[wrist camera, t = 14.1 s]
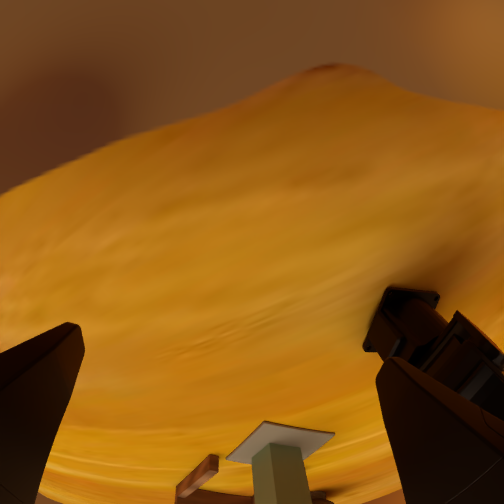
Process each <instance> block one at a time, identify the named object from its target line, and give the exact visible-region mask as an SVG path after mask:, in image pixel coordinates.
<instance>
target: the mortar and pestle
mask: <svg viewBox="0 0 504 504" xmlns="http://www.w3.org/2000/svg"><path fill="white" fill-rule="evenodd" d="M310 496H311V500H312V504H334V503H333V502H331V501H329V500H326V493H325V492H323V491H315V492H310Z"/></svg>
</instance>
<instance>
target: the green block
mask: <svg viewBox="0 0 504 504" xmlns="http://www.w3.org/2000/svg"><path fill="white" fill-rule="evenodd" d="M251 460H252V473H253V485H254V497H255V504H312V500H311V496H310V491H309V486H308V481H307V476H306V472H305V467H304V462H303V457H302V453H301V448H300V447H294V446H287V445H280V444H274V443H268V444H267V445H266V446H265V447H264V448H263V449H261V450H260V451H259V452H258V453H257V454H256V455H254V456H253V457H252V458H251Z"/></svg>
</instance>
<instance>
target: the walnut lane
mask: <svg viewBox="0 0 504 504" xmlns="http://www.w3.org/2000/svg"><path fill="white" fill-rule="evenodd" d="M218 467H219V456H215V455H209V456H208V457H207V458H206V459H205V460H204V461H203V462H202V463H201V464H200V465H199V466H198V467H196V468H195V469H194V470H193V471H192V472H191V473H190V474H189V475H188V476H187V477H186V478H185V479H184V480H183V481H182V482H180V483H179V484H178V485H177V486H176V494H175V504H255V497H254V496H252V497H245V496H237V495H230V494H223V493H217V492H211V491H206V490H201V489H198V488H199V487H200V486H201V485H203V484H204V483H205V482H207V481H208V480H209V479H210V478H212V477H213V476H214V475H215V474H217V473H218Z"/></svg>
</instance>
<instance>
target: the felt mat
mask: <svg viewBox="0 0 504 504" xmlns="http://www.w3.org/2000/svg"><path fill="white" fill-rule="evenodd" d="M334 435H335V433H330V432H322V431H315V430H308V429H302V428H297V427H291V426H286V425H281V424H276V423H271V422H266V421H263V422H262V424H261V425H260V426H259V427H258V428H257V429H256V430H255V431H254V432H253V433H252V434H251V435H250V436H248V437H247V438H246V439H245V440H244V441H243V442H242V443H241V444H240V445H239V446H238V447H237V448H236V449H235V450H234V451H233V452H232V453H231V454H230V455H228V456H227V457H226V460H229V461H234V462H240V463H246V464H252V460H251V458H252V457H253V456H254V455H256V454H257V453H258V452H259V451H260V450H261V449H263V448H264V447H265V446H266V445H267V444H268V443H274V444H280V445H287V446H294V447H300V448H301V453H302V457H303V460H304V459H306V458H307V457H308V456H310V455H311V454H312V453H314V452H315V451H316V450H317V449H319V448H320V447H321V446H322V445H324V444H325V443H326V442H327V441H329V440H330V439H331V438H332V437H333V436H334Z"/></svg>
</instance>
